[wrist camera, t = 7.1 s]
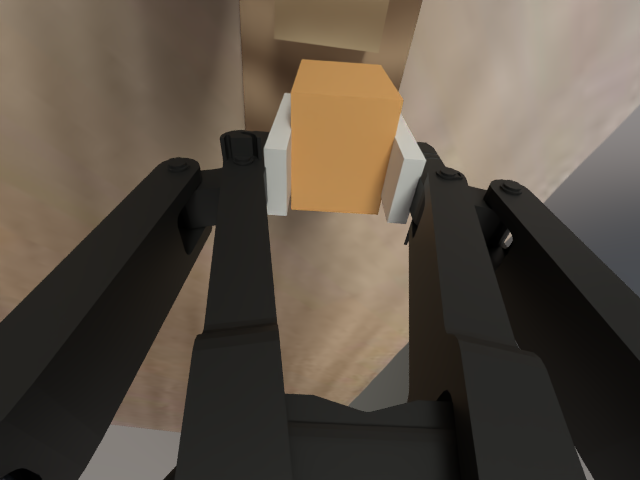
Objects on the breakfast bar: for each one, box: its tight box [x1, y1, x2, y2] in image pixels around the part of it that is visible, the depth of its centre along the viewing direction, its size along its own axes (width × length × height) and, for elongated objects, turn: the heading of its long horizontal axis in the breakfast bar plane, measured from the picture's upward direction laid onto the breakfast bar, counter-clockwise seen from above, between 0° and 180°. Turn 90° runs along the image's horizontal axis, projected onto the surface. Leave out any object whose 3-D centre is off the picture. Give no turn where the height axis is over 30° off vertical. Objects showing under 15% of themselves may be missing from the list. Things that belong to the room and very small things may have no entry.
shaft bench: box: [239, 0, 422, 132], centre depth 25 cm, size 20×14×7 cm
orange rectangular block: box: [291, 59, 403, 215], centre depth 15 cm, size 5×4×6 cm
